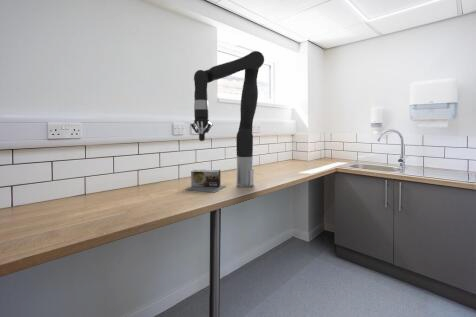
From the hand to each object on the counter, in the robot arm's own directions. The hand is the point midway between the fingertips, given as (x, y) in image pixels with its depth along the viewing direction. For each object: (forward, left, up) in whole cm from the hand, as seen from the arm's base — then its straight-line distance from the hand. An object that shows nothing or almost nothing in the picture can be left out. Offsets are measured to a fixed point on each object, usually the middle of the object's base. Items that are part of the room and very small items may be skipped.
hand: (201, 140), depth 145 cm
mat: (-2, 0, -27) cm, 27 cm away
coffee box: (+8, -1, -22) cm, 23 cm away
